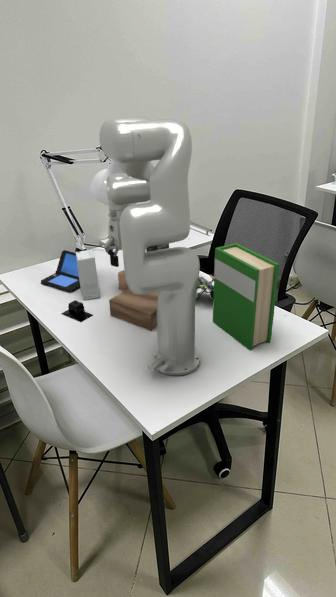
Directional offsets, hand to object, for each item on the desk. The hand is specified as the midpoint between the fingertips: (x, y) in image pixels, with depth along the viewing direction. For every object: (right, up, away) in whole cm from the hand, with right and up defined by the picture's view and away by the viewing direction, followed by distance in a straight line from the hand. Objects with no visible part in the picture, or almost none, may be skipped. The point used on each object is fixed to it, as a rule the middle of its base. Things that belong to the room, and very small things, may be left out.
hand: (124, 261), depth 149 cm
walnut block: (+8, -18, -11) cm, 22 cm away
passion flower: (+26, -14, -6) cm, 30 cm away
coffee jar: (+11, -2, +18) cm, 22 cm away
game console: (-22, -7, +10) cm, 25 cm away
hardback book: (+36, -23, -23) cm, 48 cm away
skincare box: (-12, -12, 0) cm, 17 cm away
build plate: (-14, -19, -12) cm, 26 cm away
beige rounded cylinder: (0, -9, +5) cm, 10 cm away
